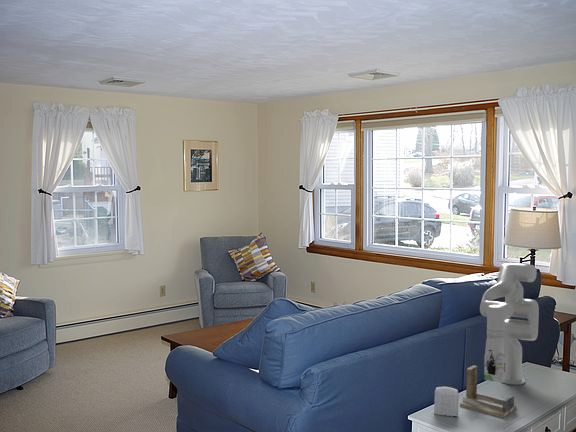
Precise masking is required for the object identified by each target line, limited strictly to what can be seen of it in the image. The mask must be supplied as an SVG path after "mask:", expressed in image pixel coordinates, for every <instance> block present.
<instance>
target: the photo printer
mask: <svg viewBox="0 0 576 432" xmlns="http://www.w3.org/2000/svg"><path fill="white" fill-rule="evenodd" d="M459 398H460V396H459V391H458V389H456V388H454V387H450V386H438V387H435V390H434V401H433V402H434V404H433V405H434V408H433V409H434V412H433V413H434V414H435V415H438V416H445V415H446V416H447V417H453V416H457V417H459ZM446 416H445V417H446Z"/></svg>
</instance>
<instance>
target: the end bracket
mask: <svg viewBox="0 0 576 432" xmlns="http://www.w3.org/2000/svg"><path fill="white" fill-rule="evenodd" d="M477 393H478V365H471V366H469V367H467V368H466V396H465V397H469V398H472V399H476V398H477Z"/></svg>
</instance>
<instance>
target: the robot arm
mask: <svg viewBox="0 0 576 432" xmlns="http://www.w3.org/2000/svg"><path fill="white" fill-rule="evenodd" d="M498 270H499V273H498V276H497V277H498V278H497V280H496V284H494V285H493V286H491V287H490V288H488V289H487V290H486V291H485V292H484V293H483V295H482V298H481V301H480V305H479V313H480V314H481V316H483V317H486V341H485V350H484V351H485V352H484V355H485V358H487V359H486V360H487V362H488V374H492V375H495V371H496V366H495V361H496V359H498V356H500V355H502V354H505V355H506V378H505V381H504V383H503V382H501V383H503V384H505V385H510V386H511V385H512V386H513V385H514V386H519V385H520V386H521V385H523V384H524V383H526V380H525V378H524V377H522V375H523V373H524V370H523V368H522V367H523V346H522V344H521V342H520V341H519V340H521V341H531V342H532V341H536V340H537V338H538V337H539V336H538V335H539V319H540V318H539V315H540V312H539V311H540V310H539V304H538V301H537V300H535V299H530V298H524V286H523V284H522V283H521V282H526V283H533V282H535V280H536V278H537V273H538V272H537V268H536V266H535V265H533V264H527V263H516V262H506V263H502V264H500V266H499V269H498ZM500 298H504V301H498V300H496V299H500ZM511 317H515V318H523V319H513V318H511ZM524 319H527V320H524ZM491 357H493V359H492V358H491ZM491 360H493V362H492V361H491Z"/></svg>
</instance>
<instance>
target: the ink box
mask: <svg viewBox="0 0 576 432" xmlns="http://www.w3.org/2000/svg"><path fill="white" fill-rule="evenodd" d="M491 358H492V359H493V357H491ZM486 359H487V358H485V354H484V360H483V361H484V363H483V364H484V365H483V366H484V367H483V368H484V369H483V370H484V371H483V372H484V374H483V375H484V381H489V382H496V383H502V382H503V384H505V383H504V381H505V378H506V355H505V354H502V355H500V356H498V359H496V361H495V366H496V371H495V375H492V374H488V362H487V360H486ZM491 361H492V362H493V360H491Z"/></svg>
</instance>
